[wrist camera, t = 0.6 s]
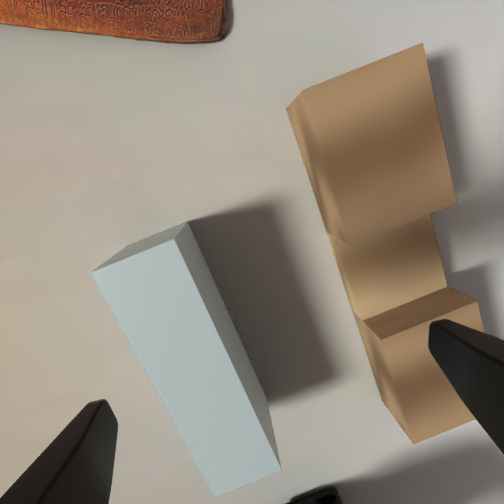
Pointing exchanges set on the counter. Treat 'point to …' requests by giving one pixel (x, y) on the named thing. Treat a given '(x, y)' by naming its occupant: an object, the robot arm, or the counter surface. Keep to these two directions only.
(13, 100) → the counter surface
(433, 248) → the notched beam
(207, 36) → the wooden tablet
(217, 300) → the pale blue block
